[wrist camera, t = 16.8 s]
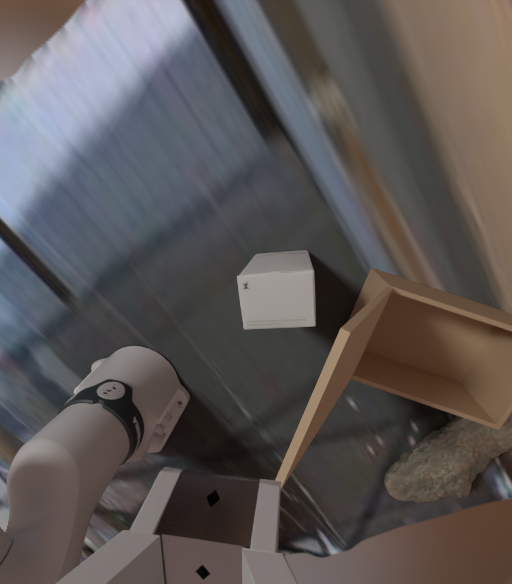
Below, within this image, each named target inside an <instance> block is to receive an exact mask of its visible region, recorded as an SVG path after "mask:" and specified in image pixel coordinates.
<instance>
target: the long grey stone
mask: <svg viewBox="0 0 512 584" xmlns="http://www.w3.org/2000/svg"><path fill="white" fill-rule="evenodd" d="M510 449H512V412H511V414H510V415H509V417H508V418H507V419H506V421H505V422H504V424H503V425H502V427H501V428H500V430H498V429H495V428H492V427H489V426H486V425H483V424H480V423H477V422H474V421H471V420H469V419H466V418H463V417H460V416H457V417H455V418H454V419H453V420H452V421H451V422H448V424H446V425H445V426H443V427H441V428H440V430H438V431H432V432H431V433H430V434H429V435H427V436H426V437H425V438H424V439H423V440H421V442H419V443H417V444H416V445H415V446H414V447H412V448H411V449H410V450H408V451H407V452H404V453H403V454H402V455H400V459H399V460H397V461H395V462H394V463H393V464H392V465H391V466H390V468H389V469H388V471H387V472H386V474H385V477H384V484H385V487H386V489H387V491H388V492H389V494H390V495H391V496H392V497H394V498H395V499H397V500H400V501H415V502H417V503H420V502H426V501H427V502H433V501H437V500H439V499H440V498H444V497H447V496H453V495H454V494H456V495H457V496H458V497H462V496H463V497H464V496H468V495H469V494H470V490H471V487H472V485H471V483H472V482H473V480H474V479H475V477H476V474H478V473H480V472H482V471H485V470H486V468H487V465H488V464H489V462H490V460H491V459H493V458H496V457H498V456H499V455H500V454H501V453H504V452H508V451H509V450H510Z"/></svg>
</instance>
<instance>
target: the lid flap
mask: <svg viewBox="0 0 512 584" xmlns="http://www.w3.org/2000/svg"><path fill="white" fill-rule="evenodd" d="M392 289H393V288H392V287H389V286H387V287H386V288H385V289H384V290H383V291H382V292H381V293H379V294H378V295H377V296H376V297H375V298H374V299H373V300H372V301H370V302H369V303H368V304H367V305H366V306H365V307H364V308H363V309H361V310H360V311H359V312H358V313H357V314H356V315H355V316H354V317H352V318H351V319H350V320H349V321H348V322H347V323H346V324H345V325H344V326H342V327H341V328H340V331H339V333H338V335H337V338H336V340H335V342H334V345H333V347H332V349H331V352H330V354H329V356H328V359H327V361H326V363H325V366H324V368H323V370H322V372H321V375H320V377H319V379H318V382H317V384H316V386H315V389H314V391H313V393H312V396H311V398H310V400H309V403H308V405H307V407H306V410H305V412H304V414H303V417H302V419H301V421H300V424H299V426H298V428H297V431H296V433H295V435H294V438H293V440H292V442H291V445H290V447H289V449H288V451H287V454H286V456H285V458H284V461H283V463H282V465H281V468H280V470H279V472H278V475H277V477H276V479H275V481H280V482H281V489H282V487H283V486H284V484H285V483H286V481H287V479H288V478H289V476H290V475H291V473H292V471H293V470H294V468H295V467H296V465H297V463H298V462H299V460H300V459H301V457H302V456H303V454H304V452H305V451H306V449H307V448H308V446H309V444H310V443H311V441H312V440H313V438H314V436H315V435H316V433H317V432H318V430H319V429H320V427H321V425H322V424H323V422H324V421H325V419H326V417H327V416H328V414H329V413H330V411H331V409H332V408H333V406H334V405H335V403H336V402H337V400H338V398H339V397H340V395H341V394H342V392H343V390H344V389H345V387H346V386H347V384H348V383H349V381H350V379H351V377H352V375H353V372H354V370H355V368H356V366H357V364H358V362H359V360H360V357H361V355H362V353H363V351H364V349H365V347H366V345H367V343H368V340H369V338H370V336H371V334H372V332H373V330H374V328H375V326H376V323H377V321H378V319H379V317H380V315H381V313H382V311H383V308H384V306H385V304H386V302H387V300H388V298H389V296H390V294H391V291H392Z"/></svg>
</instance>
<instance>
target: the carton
mask: <svg viewBox="0 0 512 584" xmlns="http://www.w3.org/2000/svg"><path fill="white" fill-rule="evenodd" d="M387 286H389V287H392V288H393V289H392V291H391V294H390V296H389V298H388V300H387V302H386V304H385V306H384V308H383V311H382V313H381V315H380V317H379V319H378V321H377V323H376V326H375V328H374V330H373V332H372V334H371V336H370V338H369V340H368V343H367V345H366V347H365V349H364V351H363V353H362V355H361V357H360V360H359V362H358V364H357V366H356V368H355V370H354V372H353V375H352V377H351V379H352V380H355V381H358V382H361V383H364V384H367V385H370V386H373V387H376V388H379V389H381V390H384V391H387V392H390V393H393V394H396V395H399V396H402V397H405V398H408V399H410V400H413V401H416V402H419V403H422V404H425V405H428V406H431V407H434V408H437V409H439V410H442V411H445V412H448V413H451V414H454V415H457V416H460V417H463V418H466V419H469V420H471V421H474V422H477V423H480V424H483V425H486V426H489V427H492V428H495V429H498V430H500V428H501V427H502V425H503V424H504V422H505V421H506V419H507V418H508V417H509V415H510V414H511V412H512V315H511V314H509V313H507V312H505V311H502V310H499V309H496V308H493V307H490V306H487V305H484V304H481V303H478V302H475V301H472V300H468V299H465V298H462V297H459V296H456V295H453V294H450V293H447V292H444V291H441V290H438V289H435V288H432V287H429V286H426V285H423V284H419V283H416V282H413V281H410V280H407V279H404V278H401V277H398V276H395V275H392V274H389V273H386V272H383V271H380V270H377V269H373V268H371V269H370V272H369V274H368V276H367V279H366V281H365V283H364V286H363V288H362V290H361V292H360V295H359V297H358V299H357V302H356V304H355V306H354V309H353V311H352V313H351V315H350V318H349V320H350V319H351V318H352V317H354V316H355V315H356V314H357V313H358V312H359V311H360V310H361V309H363V308H364V307H365V306H366V305H367V304H368V303H369V302H370V301H372V300H373V299H374V298H375V297H376V296H377V295H378V294H379V293H381V292H382V291H383V290H384V289H385V288H386V287H387ZM349 320H348V321H349Z"/></svg>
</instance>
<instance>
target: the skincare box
mask: <svg viewBox="0 0 512 584" xmlns="http://www.w3.org/2000/svg"><path fill="white" fill-rule="evenodd" d="M237 282H238V290H239V297H240V304H241V311H242V319H243V326H244V329H267V328H293V327H313V326H316V304H315V278H314V270H313V266H312V263H311V260H310V256H309V253H308V251H307V250H301V251H286V252H273V253H262V254H256V255H255V256H254V257H253V259H252V260H251V261H250V262H249V264H248V265H247V266H246V267H245V269H244V270H243V271H242V272H241V273H240V275H238V276H237Z"/></svg>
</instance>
